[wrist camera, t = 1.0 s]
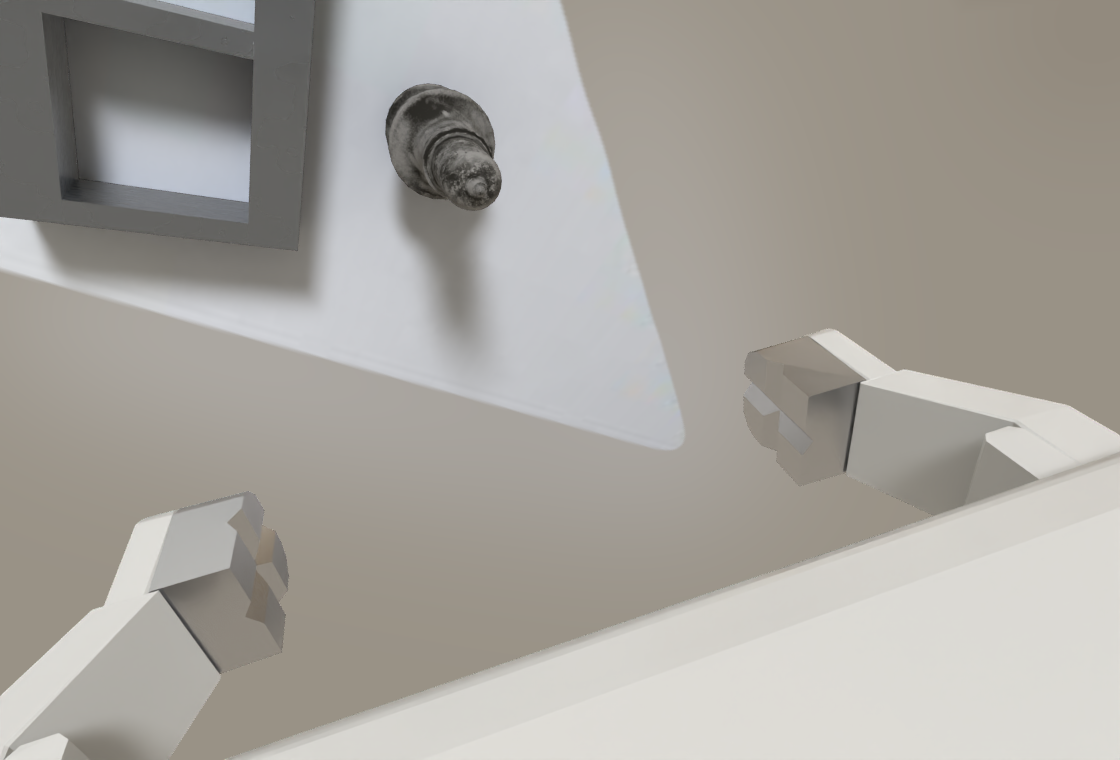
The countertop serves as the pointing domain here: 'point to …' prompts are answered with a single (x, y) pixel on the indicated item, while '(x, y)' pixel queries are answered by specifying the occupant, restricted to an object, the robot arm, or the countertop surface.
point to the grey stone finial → (443, 146)
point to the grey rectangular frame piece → (61, 197)
